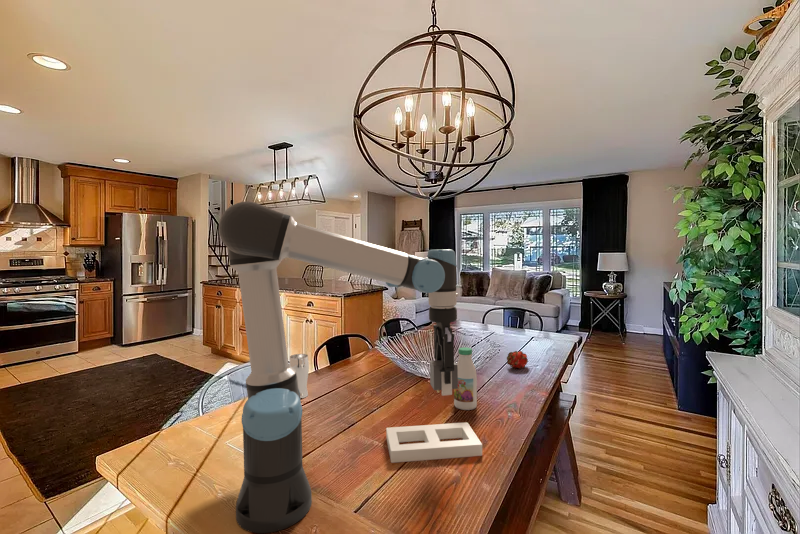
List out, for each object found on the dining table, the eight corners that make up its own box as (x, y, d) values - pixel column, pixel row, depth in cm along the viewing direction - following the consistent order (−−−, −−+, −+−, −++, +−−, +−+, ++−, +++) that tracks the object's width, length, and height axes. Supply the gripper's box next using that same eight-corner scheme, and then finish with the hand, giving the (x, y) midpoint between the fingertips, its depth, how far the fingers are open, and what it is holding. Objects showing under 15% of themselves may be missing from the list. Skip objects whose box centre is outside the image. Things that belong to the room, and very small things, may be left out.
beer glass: (311, 392, 146) (311, 353, 146) (305, 399, 139) (304, 358, 139) (294, 392, 147) (293, 353, 146) (287, 399, 140) (286, 358, 139)
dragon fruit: (505, 373, 172) (524, 372, 178) (518, 365, 166) (537, 365, 172) (499, 355, 177) (517, 355, 183) (511, 347, 171) (530, 347, 177)
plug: (457, 394, 103) (457, 364, 103) (434, 395, 103) (433, 366, 102) (452, 387, 108) (452, 359, 108) (430, 389, 108) (429, 360, 107)
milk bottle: (461, 399, 138) (461, 344, 137) (480, 405, 133) (480, 348, 132) (449, 406, 132) (449, 349, 131) (469, 412, 127) (469, 352, 126)
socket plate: (482, 455, 101) (482, 444, 101) (391, 462, 98) (390, 451, 98) (467, 432, 114) (467, 422, 114) (386, 437, 111) (386, 427, 111)
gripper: (466, 311, 96) (467, 402, 97) (447, 301, 114) (449, 378, 115) (436, 312, 95) (438, 405, 96) (422, 302, 113) (424, 380, 114)
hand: (444, 390), depth 106 cm, fingers closed on plug, 5 cm apart
